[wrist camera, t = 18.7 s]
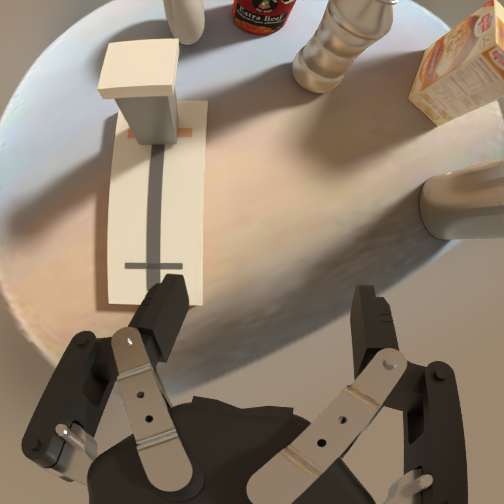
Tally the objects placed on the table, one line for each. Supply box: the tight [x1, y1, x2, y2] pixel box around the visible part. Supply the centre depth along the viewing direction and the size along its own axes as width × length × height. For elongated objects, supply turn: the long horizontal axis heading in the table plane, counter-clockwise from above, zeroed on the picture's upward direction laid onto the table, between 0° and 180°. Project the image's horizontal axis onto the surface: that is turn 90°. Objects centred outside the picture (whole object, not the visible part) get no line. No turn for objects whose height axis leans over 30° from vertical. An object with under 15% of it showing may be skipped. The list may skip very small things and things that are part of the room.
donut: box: [163, 0, 205, 45], centre depth 27 cm, size 10×4×10 cm, turn 21°
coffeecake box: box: [408, 0, 504, 126], centre depth 29 cm, size 15×7×20 cm, turn 150°
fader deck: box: [107, 100, 208, 305], centre depth 31 cm, size 10×22×2 cm, turn 0°
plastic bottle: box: [292, 0, 399, 93], centre depth 25 cm, size 6×7×20 cm
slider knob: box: [97, 38, 179, 145], centre depth 23 cm, size 5×4×14 cm
